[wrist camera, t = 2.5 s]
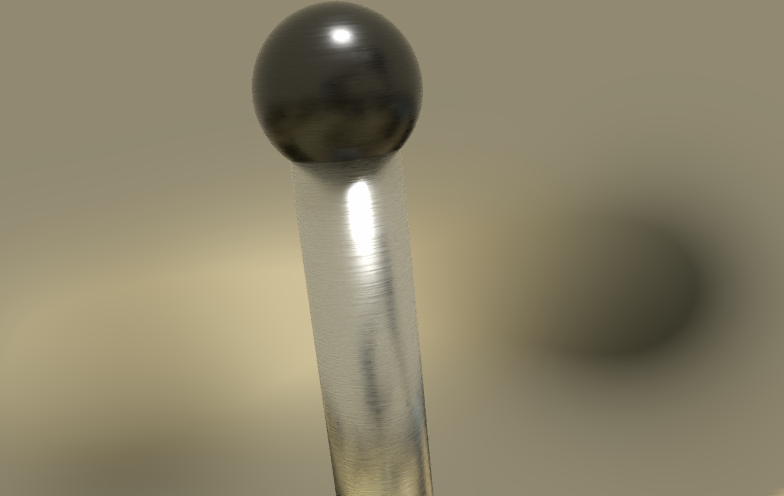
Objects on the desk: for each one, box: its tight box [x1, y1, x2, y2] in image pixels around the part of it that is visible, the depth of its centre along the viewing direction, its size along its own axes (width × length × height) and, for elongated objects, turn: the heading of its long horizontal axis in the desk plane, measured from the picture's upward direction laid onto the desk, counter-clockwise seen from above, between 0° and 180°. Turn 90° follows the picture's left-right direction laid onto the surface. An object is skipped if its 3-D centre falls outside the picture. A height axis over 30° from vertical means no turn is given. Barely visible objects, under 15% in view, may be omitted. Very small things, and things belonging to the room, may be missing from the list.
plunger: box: [252, 1, 434, 496], centre depth 21 cm, size 7×7×26 cm
